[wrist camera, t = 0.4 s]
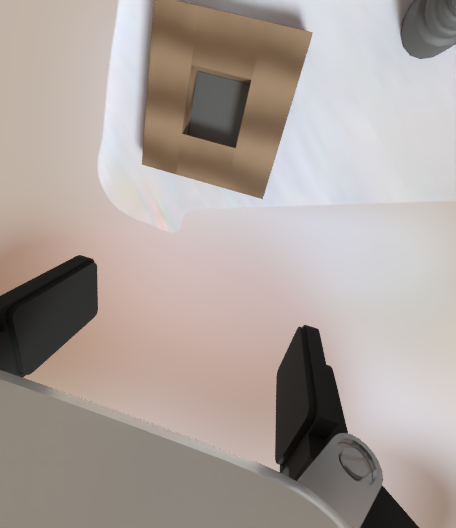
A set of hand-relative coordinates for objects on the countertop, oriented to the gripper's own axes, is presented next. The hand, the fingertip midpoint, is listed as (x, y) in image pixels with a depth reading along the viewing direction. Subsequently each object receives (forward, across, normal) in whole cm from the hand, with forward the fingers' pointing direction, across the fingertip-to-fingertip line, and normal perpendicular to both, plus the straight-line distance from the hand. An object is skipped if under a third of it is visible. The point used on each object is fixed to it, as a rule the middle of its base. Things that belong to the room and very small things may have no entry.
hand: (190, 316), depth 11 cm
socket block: (+30, +8, -10) cm, 32 cm away
